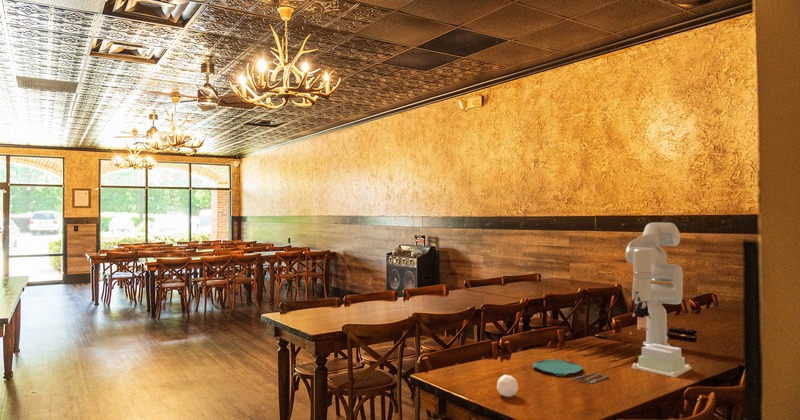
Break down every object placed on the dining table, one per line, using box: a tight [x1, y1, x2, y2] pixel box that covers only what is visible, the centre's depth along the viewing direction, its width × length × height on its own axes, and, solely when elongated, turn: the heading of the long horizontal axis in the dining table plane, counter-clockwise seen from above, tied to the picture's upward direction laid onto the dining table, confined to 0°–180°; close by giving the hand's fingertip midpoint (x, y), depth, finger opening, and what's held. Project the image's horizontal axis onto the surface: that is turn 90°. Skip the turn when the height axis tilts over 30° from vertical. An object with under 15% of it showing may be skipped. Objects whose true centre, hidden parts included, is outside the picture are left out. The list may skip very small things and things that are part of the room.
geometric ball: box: [496, 374, 519, 398], centre depth 193 cm, size 8×8×8 cm
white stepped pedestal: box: [631, 343, 692, 378], centre depth 229 cm, size 18×18×9 cm
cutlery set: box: [531, 358, 610, 385], centre depth 222 cm, size 20×30×2 cm, turn 35°
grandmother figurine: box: [632, 302, 651, 331], centre depth 237 cm, size 8×4×13 cm, turn 68°
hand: (642, 316), depth 237 cm, fingers closed on grandmother figurine, 3 cm apart
